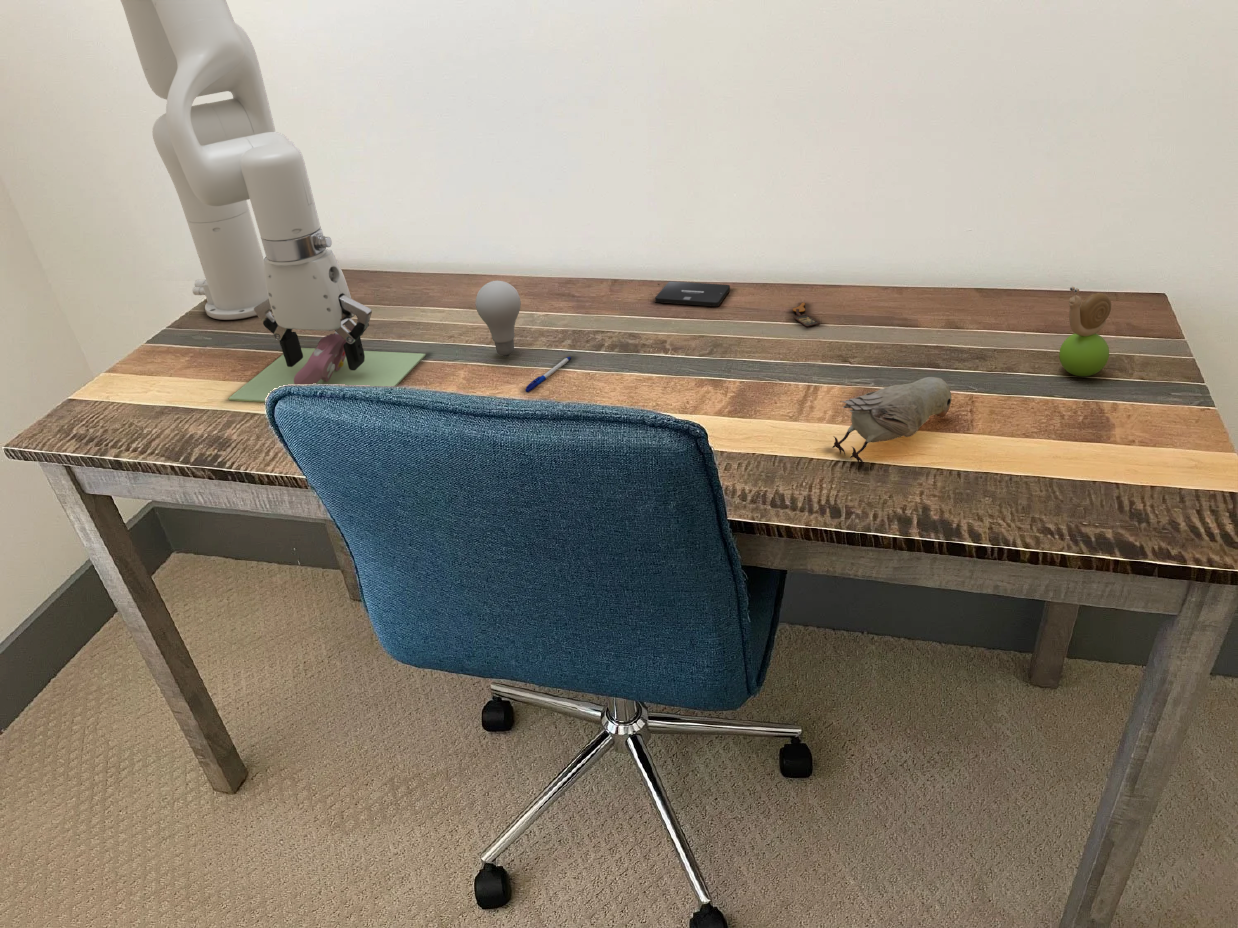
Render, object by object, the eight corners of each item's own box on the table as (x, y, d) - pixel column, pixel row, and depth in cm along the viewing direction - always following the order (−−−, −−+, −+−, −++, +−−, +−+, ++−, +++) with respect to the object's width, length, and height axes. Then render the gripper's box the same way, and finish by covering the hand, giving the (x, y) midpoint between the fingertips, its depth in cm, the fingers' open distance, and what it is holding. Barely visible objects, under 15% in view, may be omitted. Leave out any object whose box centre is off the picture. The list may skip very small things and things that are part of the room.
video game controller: (321, 401, 131) (331, 360, 127) (289, 387, 131) (299, 346, 127) (352, 369, 139) (362, 329, 135) (323, 355, 139) (332, 315, 135)
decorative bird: (962, 425, 110) (970, 366, 106) (858, 474, 103) (862, 412, 99) (926, 408, 114) (932, 350, 110) (823, 453, 107) (826, 394, 103)
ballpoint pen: (530, 394, 125) (529, 387, 125) (524, 393, 126) (523, 386, 125) (571, 360, 133) (571, 353, 132) (566, 359, 133) (565, 353, 133)
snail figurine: (1039, 373, 119) (1055, 280, 112) (1080, 360, 121) (1097, 269, 114) (1073, 390, 114) (1091, 295, 108) (1114, 377, 116) (1134, 283, 110)
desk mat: (228, 400, 131) (228, 398, 131) (292, 349, 144) (291, 347, 144) (373, 409, 125) (373, 407, 125) (426, 355, 138) (425, 353, 138)
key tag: (821, 325, 135) (821, 321, 135) (800, 328, 135) (800, 324, 135) (804, 303, 142) (804, 299, 142) (784, 305, 142) (784, 302, 142)
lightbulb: (535, 349, 137) (525, 275, 131) (514, 368, 132) (502, 292, 126) (499, 344, 139) (487, 272, 133) (476, 362, 134) (463, 288, 129)
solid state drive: (717, 307, 144) (717, 302, 143) (654, 302, 147) (654, 298, 147) (730, 289, 149) (730, 285, 149) (669, 285, 153) (669, 280, 152)
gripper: (368, 236, 125) (394, 355, 134) (253, 234, 130) (286, 349, 139) (339, 256, 119) (369, 380, 128) (219, 254, 124) (257, 373, 133)
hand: (326, 364), depth 133 cm, fingers open, 9 cm apart
